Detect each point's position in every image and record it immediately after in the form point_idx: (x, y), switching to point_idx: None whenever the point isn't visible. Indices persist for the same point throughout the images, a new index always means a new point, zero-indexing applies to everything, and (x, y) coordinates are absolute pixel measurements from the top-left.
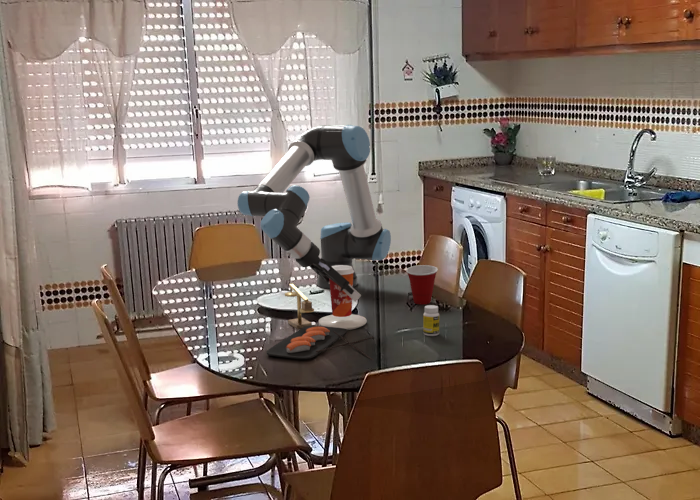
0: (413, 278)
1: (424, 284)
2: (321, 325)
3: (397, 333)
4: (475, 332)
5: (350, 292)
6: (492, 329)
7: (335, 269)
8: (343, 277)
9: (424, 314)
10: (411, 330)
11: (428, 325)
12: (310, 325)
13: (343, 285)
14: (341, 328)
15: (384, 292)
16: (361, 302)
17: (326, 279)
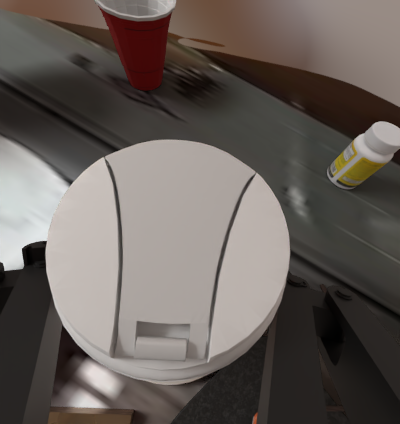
0: (142, 32)
1: (163, 40)
2: (169, 383)
3: (315, 223)
4: (353, 125)
5: None
6: (345, 102)
7: (226, 325)
8: (397, 344)
9: (379, 160)
10: (305, 190)
11: (371, 174)
12: (132, 418)
13: (343, 340)
14: (253, 345)
15: (25, 81)
16: (42, 148)
17: (61, 325)
